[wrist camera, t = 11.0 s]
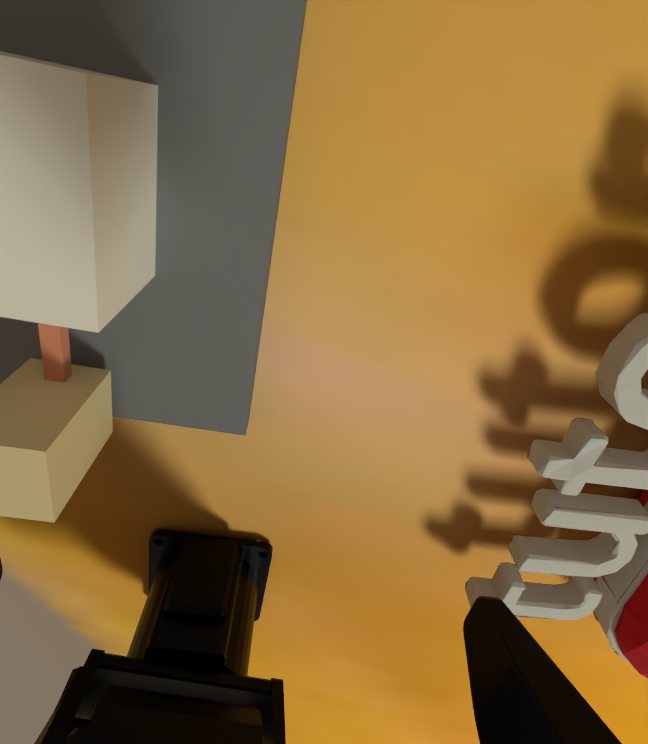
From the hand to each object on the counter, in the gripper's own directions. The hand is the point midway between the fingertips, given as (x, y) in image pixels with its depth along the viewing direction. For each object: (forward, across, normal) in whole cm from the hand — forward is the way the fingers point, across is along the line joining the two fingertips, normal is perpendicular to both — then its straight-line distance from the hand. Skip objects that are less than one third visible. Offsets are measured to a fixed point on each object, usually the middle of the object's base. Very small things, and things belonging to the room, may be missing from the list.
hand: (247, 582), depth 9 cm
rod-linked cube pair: (+11, +8, -1) cm, 13 cm away
